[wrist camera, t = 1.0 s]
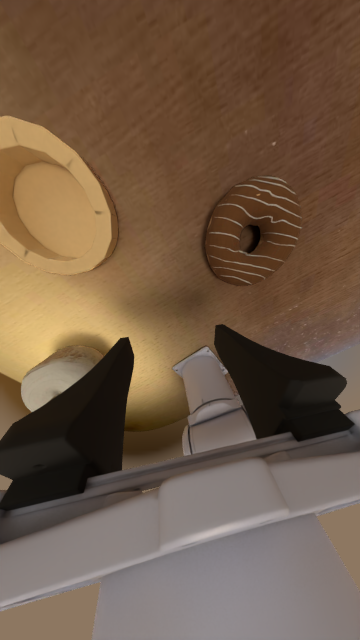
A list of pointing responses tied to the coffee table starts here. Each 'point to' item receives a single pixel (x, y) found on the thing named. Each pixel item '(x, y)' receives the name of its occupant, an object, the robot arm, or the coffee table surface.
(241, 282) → the donut
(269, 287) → the coffee table surface
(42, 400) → the decorative object
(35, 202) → the holder
